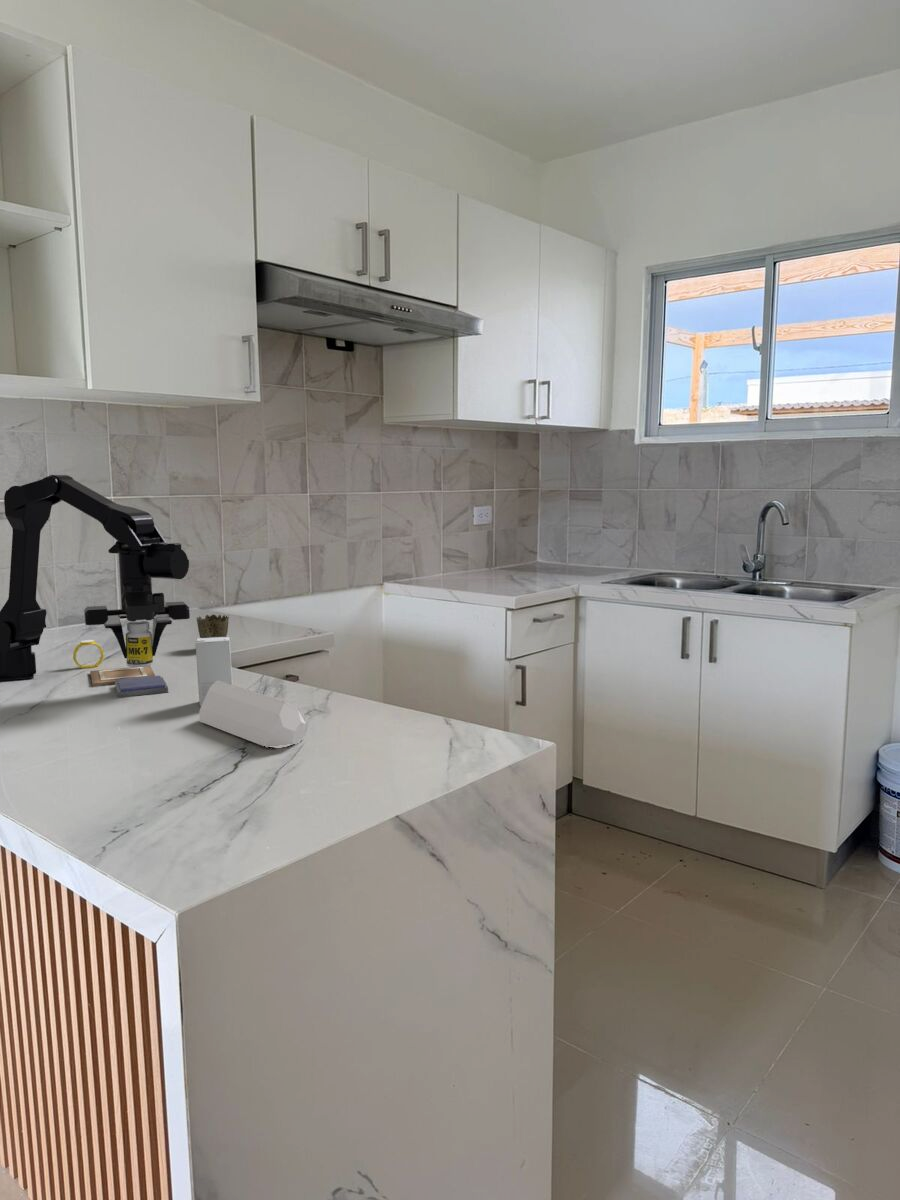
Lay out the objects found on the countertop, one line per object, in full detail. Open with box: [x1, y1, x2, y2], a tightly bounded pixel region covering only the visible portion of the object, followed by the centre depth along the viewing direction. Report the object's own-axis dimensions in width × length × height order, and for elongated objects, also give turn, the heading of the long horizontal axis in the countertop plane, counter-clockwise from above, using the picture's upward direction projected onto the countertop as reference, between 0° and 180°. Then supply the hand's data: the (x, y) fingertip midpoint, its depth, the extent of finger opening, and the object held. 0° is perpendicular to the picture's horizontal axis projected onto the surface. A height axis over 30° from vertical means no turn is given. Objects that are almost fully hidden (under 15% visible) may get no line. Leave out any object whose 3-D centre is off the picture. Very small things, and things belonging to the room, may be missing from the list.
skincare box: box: [194, 636, 233, 707], centre depth 152 cm, size 6×4×12 cm
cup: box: [196, 614, 230, 638], centre depth 201 cm, size 8×7×8 cm
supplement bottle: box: [125, 620, 154, 668], centre depth 162 cm, size 5×5×8 cm
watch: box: [72, 639, 105, 669], centre depth 182 cm, size 6×3×6 cm, turn 122°
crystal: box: [198, 681, 307, 748], centre depth 136 cm, size 7×7×24 cm
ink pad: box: [114, 675, 169, 698], centre depth 163 cm, size 9×9×2 cm
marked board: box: [89, 665, 156, 687], centre depth 173 cm, size 12×12×1 cm
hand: (139, 656), depth 162 cm, fingers closed on supplement bottle, 5 cm apart
